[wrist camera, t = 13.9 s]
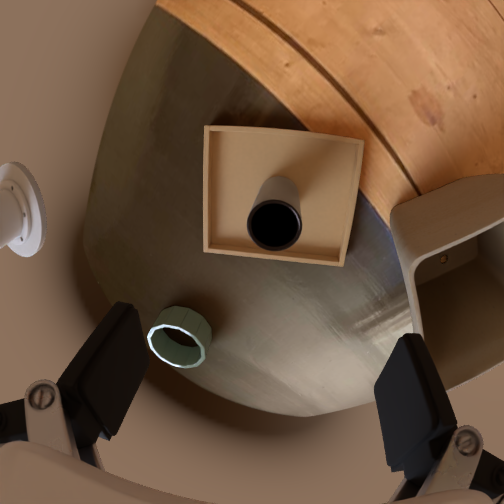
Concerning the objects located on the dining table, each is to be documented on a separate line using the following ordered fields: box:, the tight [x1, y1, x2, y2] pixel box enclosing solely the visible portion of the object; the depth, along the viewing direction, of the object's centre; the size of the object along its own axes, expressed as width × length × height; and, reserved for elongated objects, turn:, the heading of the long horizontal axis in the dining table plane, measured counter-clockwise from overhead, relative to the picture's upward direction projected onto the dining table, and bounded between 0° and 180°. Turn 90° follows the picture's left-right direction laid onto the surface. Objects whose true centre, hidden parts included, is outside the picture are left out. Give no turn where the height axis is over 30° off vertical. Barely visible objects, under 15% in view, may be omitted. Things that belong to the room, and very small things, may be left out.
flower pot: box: [390, 174, 504, 393], centre depth 24 cm, size 19×19×17 cm
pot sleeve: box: [147, 306, 212, 368], centre depth 42 cm, size 9×9×4 cm
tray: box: [203, 125, 365, 267], centre depth 31 cm, size 17×15×2 cm
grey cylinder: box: [247, 176, 302, 251], centre depth 27 cm, size 4×4×10 cm
